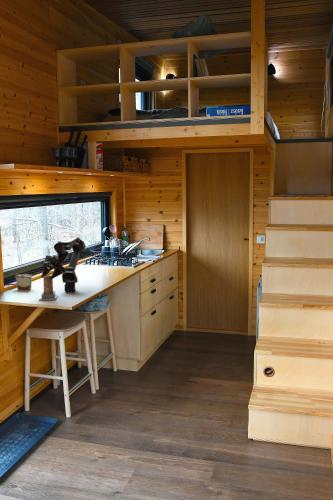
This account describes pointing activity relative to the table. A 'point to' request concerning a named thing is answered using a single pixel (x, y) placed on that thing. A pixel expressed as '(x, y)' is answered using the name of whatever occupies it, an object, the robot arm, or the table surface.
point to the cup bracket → (48, 296)
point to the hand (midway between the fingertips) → (45, 278)
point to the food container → (24, 281)
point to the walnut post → (48, 285)
